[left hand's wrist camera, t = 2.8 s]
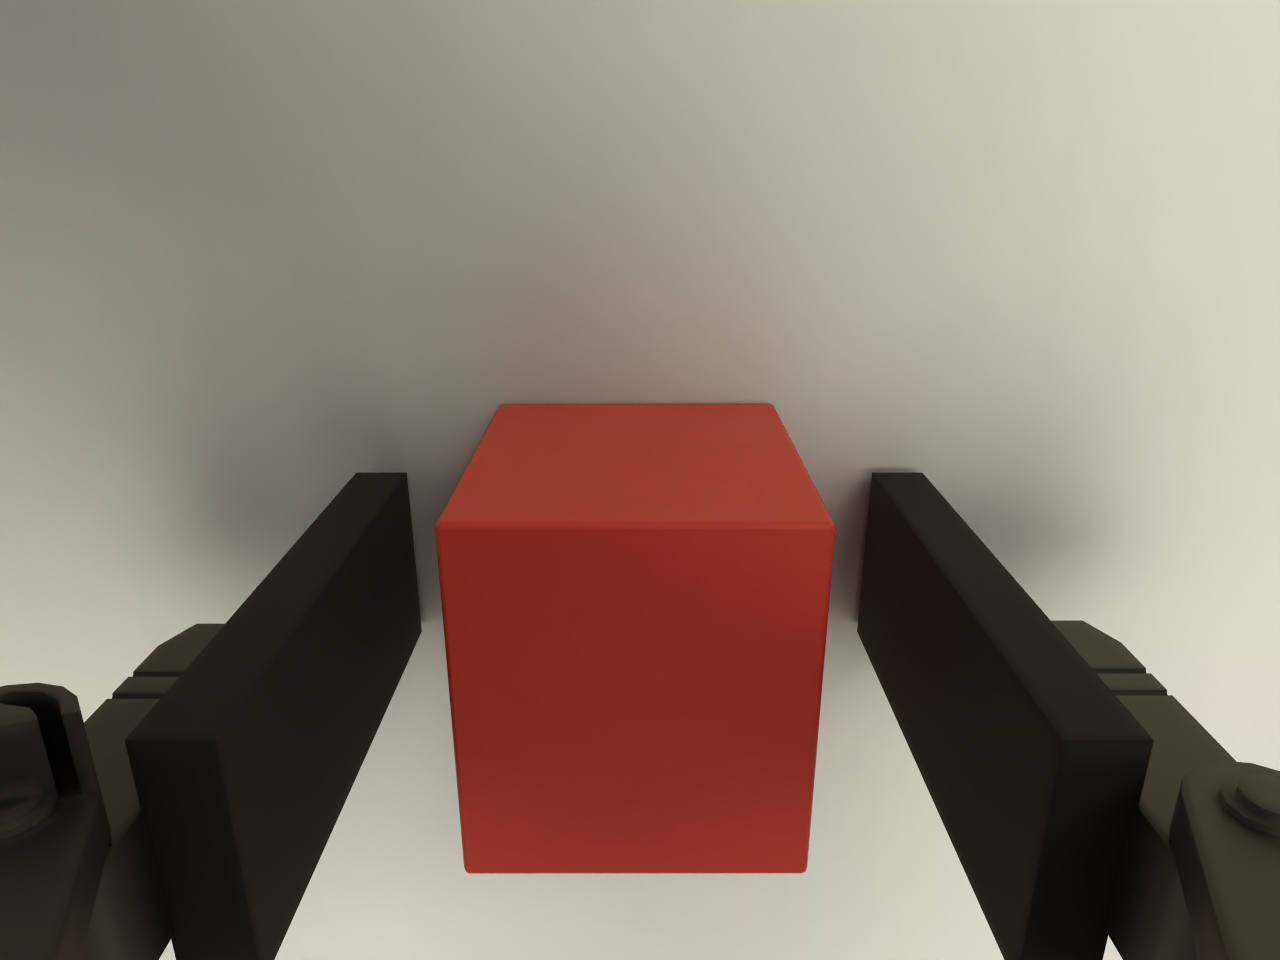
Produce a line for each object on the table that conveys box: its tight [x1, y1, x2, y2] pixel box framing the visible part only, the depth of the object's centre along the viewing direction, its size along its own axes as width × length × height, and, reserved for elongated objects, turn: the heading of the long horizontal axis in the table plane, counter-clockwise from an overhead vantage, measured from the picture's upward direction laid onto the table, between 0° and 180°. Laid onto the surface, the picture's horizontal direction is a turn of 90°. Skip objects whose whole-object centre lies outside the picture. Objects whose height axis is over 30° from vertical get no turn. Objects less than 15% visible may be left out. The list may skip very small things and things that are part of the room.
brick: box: [435, 404, 835, 873], centre depth 12 cm, size 4×4×4 cm
